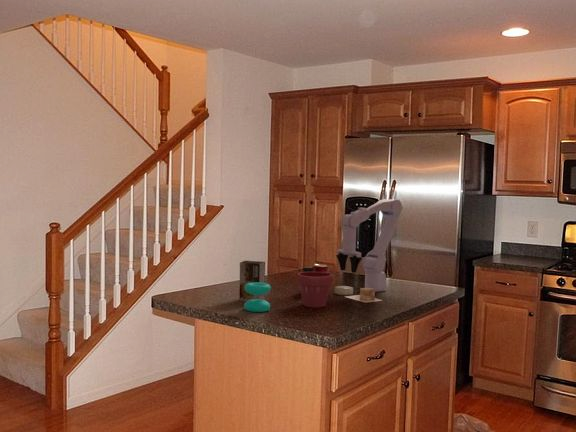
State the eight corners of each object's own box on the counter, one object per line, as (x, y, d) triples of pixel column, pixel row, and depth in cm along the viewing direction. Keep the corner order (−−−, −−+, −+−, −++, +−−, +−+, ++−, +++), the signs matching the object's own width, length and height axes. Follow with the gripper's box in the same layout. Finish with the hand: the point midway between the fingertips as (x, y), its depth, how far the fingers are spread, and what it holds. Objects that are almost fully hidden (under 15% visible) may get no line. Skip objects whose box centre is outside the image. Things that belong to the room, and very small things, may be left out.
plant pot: (297, 301, 240) (297, 270, 239) (330, 302, 239) (331, 271, 238) (296, 308, 225) (297, 276, 225) (332, 309, 225) (333, 277, 224)
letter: (361, 294, 257) (361, 294, 257) (383, 300, 245) (383, 300, 245) (344, 296, 251) (344, 296, 251) (365, 302, 240) (365, 302, 239)
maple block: (366, 297, 249) (367, 287, 249) (374, 299, 246) (375, 289, 246) (359, 299, 247) (360, 288, 246) (367, 300, 243) (367, 290, 243)
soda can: (326, 293, 258) (327, 266, 257) (310, 292, 260) (311, 265, 259) (328, 290, 265) (329, 264, 265) (313, 289, 267) (313, 263, 266)
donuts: (248, 281, 226) (273, 282, 224) (247, 306, 227) (272, 308, 225) (241, 285, 216) (267, 287, 214) (241, 311, 217) (267, 313, 215)
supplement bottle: (313, 292, 259) (314, 266, 258) (316, 295, 252) (317, 268, 251) (298, 292, 258) (299, 266, 257) (301, 295, 251) (302, 268, 250)
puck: (344, 291, 264) (345, 285, 264) (356, 294, 258) (356, 288, 257) (331, 293, 259) (331, 286, 259) (343, 296, 253) (343, 289, 253)
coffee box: (264, 300, 239) (265, 261, 239) (259, 303, 233) (260, 263, 232) (244, 298, 242) (245, 260, 242) (238, 300, 236) (239, 261, 235)
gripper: (332, 239, 262) (331, 269, 263) (353, 243, 250) (351, 274, 251) (344, 239, 266) (343, 268, 267) (365, 242, 254) (364, 273, 255)
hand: (348, 271), depth 259 cm, fingers open, 7 cm apart
